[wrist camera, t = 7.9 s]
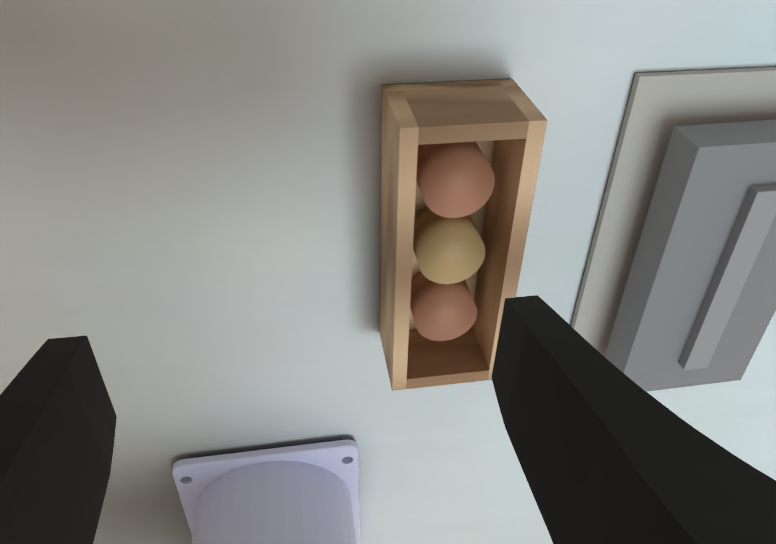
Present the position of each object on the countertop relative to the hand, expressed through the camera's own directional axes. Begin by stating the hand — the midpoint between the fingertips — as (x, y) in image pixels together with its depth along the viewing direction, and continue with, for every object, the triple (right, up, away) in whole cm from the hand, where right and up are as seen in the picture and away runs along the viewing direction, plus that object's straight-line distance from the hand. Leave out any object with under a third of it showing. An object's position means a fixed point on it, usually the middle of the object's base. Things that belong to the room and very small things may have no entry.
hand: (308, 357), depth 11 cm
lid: (+13, +2, +13) cm, 18 cm away
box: (+3, +3, +11) cm, 12 cm away
